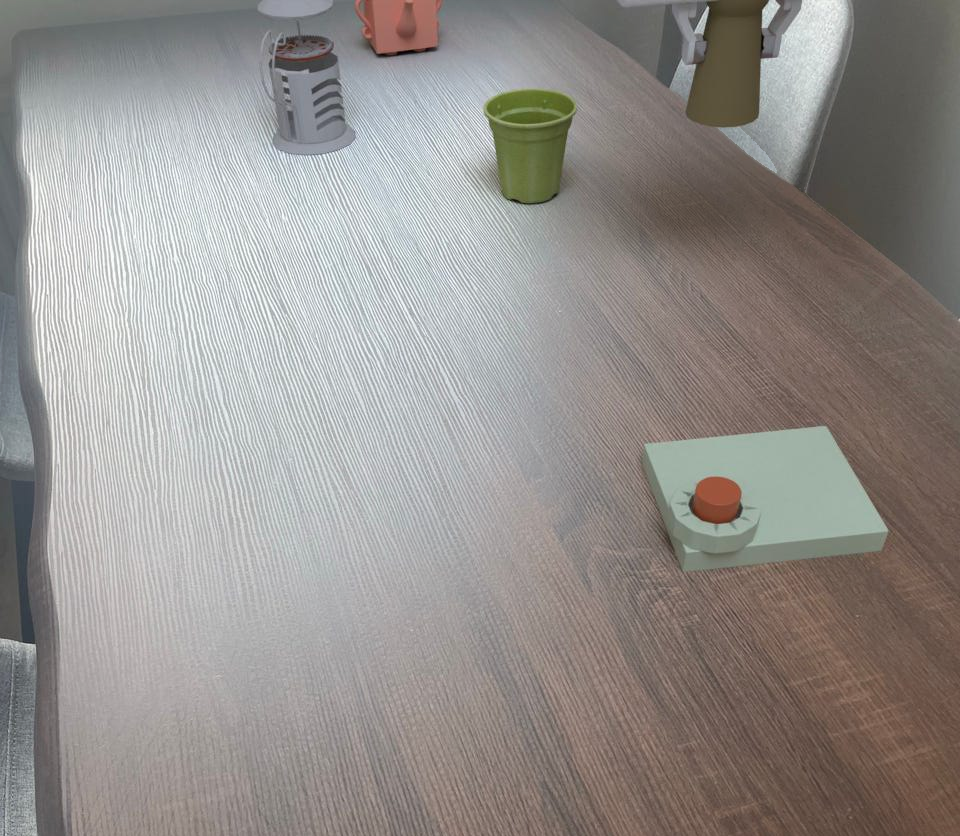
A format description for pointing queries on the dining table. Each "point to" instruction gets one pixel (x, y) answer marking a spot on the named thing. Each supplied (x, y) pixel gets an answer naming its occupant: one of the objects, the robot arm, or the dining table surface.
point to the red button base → (764, 499)
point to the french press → (305, 83)
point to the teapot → (400, 24)
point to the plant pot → (530, 140)
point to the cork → (729, 66)
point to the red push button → (716, 500)
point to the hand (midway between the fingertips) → (729, 59)
